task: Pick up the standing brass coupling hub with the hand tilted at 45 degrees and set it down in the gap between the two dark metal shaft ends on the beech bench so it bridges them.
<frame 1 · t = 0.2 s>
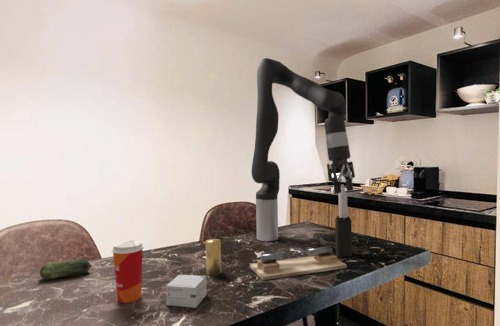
hand: (344, 191, 115), 22 cm above the table, tool pointing down, fingers open, 8 cm apart
coupling hub: (213, 273, 100), on the table
shafts: (297, 254, 103), on the shaft bench, point 4 cm above the table
shaft bench: (297, 267, 104), on the table
small box: (187, 301, 82), on the table
paper cup: (129, 299, 83), on the table
black and grey bottle: (343, 255, 116), on the table
vegetable: (66, 277, 100), on the table
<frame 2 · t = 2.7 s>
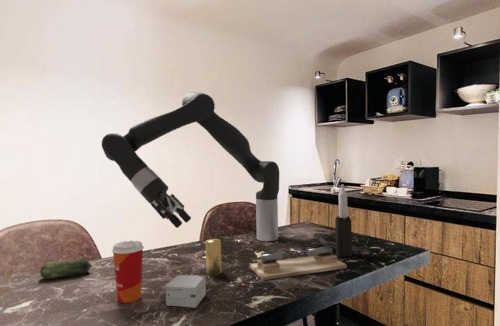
hand: (184, 223, 100), 15 cm above the table, tool tilted 45°, fingers open, 8 cm apart
nothing on the table moved.
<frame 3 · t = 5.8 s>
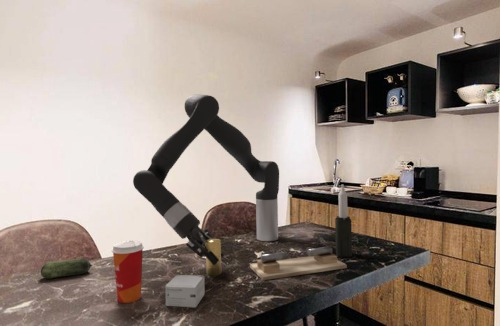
hand: (219, 259, 100), 4 cm above the table, tool tilted 45°, fingers closed on coupling hub, 4 cm apart
coupling hub: (213, 272, 100), on the table, touching gripper
everything else where it was.
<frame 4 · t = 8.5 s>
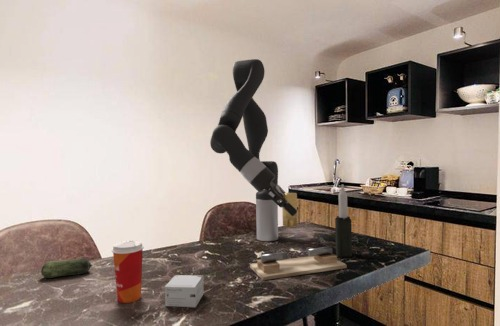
hand: (295, 212, 103), 18 cm above the table, tool tilted 45°, fingers closed on coupling hub, 4 cm apart
coupling hub: (290, 225, 103), point 14 cm above the table, touching gripper
everything else where it was.
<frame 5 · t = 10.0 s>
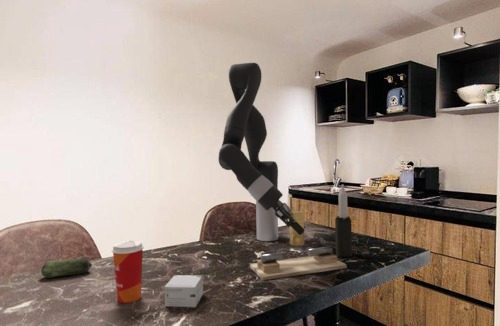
hand: (302, 230, 103), 12 cm above the table, tool tilted 45°, fingers closed on coupling hub, 4 cm apart
coupling hub: (297, 243, 103), point 8 cm above the table, touching gripper
when the fingers open (7 cm above the table, at t = 11.2 s): coupling hub drops 2 cm, resting on shaft bench.
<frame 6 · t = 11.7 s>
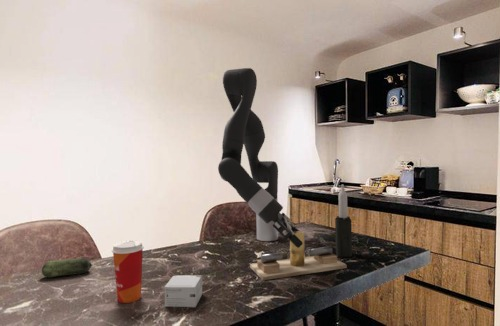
hand: (301, 242, 103), 8 cm above the table, tool tilted 45°, fingers open, 8 cm apart
coupling hub: (297, 264, 104), point 1 cm above the table, touching shaft bench
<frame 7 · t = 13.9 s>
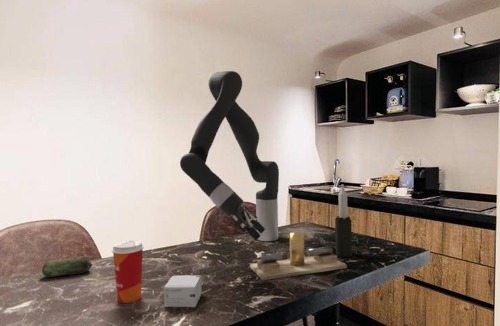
hand: (261, 234, 106), 10 cm above the table, tool tilted 45°, fingers open, 8 cm apart
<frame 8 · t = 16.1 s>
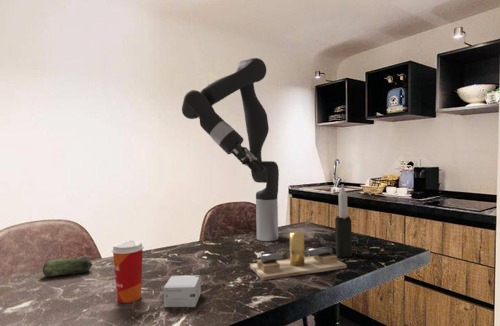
hand: (260, 171, 108), 31 cm above the table, tool tilted 45°, fingers open, 8 cm apart
at the end: coupling hub 0.3 cm off-centre on the shaft bench, point 1.0 cm above the shaft bench's base; coupling hub tilted 0°; the gripper is holding nothing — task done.
